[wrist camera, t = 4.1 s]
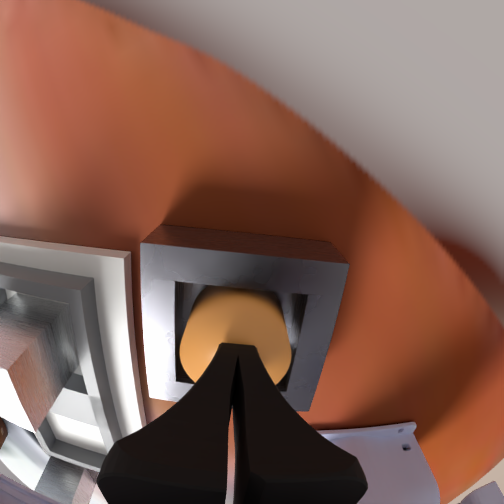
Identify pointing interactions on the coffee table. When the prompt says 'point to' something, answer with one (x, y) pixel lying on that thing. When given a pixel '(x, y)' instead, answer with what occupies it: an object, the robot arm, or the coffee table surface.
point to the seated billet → (34, 357)
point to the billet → (66, 482)
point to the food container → (2, 432)
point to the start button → (235, 329)
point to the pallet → (84, 343)
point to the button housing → (238, 276)
